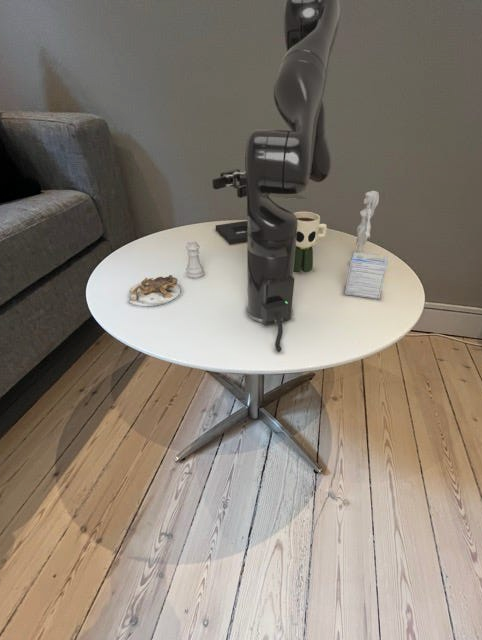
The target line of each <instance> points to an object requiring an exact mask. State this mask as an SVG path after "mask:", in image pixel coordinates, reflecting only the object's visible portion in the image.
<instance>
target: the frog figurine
mask: <svg viewBox="0 0 482 640" xmlns="http://www.w3.org/2000/svg"><path fill="white" fill-rule="evenodd" d="M178 282H179V281H178V278H177V277H174V276H173V275H172V274H169V275H168V276H165V277H163V276H158V277H156V278H153V277H151V278H147V277H145V278H144V279H143V280H142V281H141V282H140V283H139V284H137V285H135V286H133V287H131V288H130V290H129V293H130V296H129V301H128V302H129V304H132V305H134V306H138V307H154V306H162V305H166V304H168V303H170V302H172V301H173V300H175V299H176V298H178V296H180V295H181V294H180V293H181V291H182V290H180V287H179V285H178Z"/></svg>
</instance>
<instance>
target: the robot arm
mask: <svg viewBox="0 0 482 640" xmlns="http://www.w3.org/2000/svg"><path fill="white" fill-rule="evenodd" d="M284 2H285V3H284V9H283V34H284V42H285V48H286V53H285V54H284V55H283V57H282V59H281V60H280V64H279V66H278V69H277V74H276V77H275V81H274V84H273V85H274V86H273V100H274V104H275V107H276V110H277V112H278V114H279V115H280V117H281V118H282V120H283V122H284V123H285V124H286V126H288V128H289V129H290V130H285V129H268V128H267V129H265V128H257V129H254V130H252V131H251V132H250V133H249V135H248V137H247V140H246V145H245V152H244V153H245V155H244V162H245V163H244V167H245V168H244V171H241V170H240V169H238V168H237V169H233V170H232V169H231V170H227V171H224V172H220V175H219V177H216V178H213V179H212V189H213V190H220V189H223V188H228V187H233V189H236V197H237V198H240V199H242V198H246V221H247V231H246V232H247V242H246V243H247V246H246V252H247V254H246V266H247V267H246V301H247V302H246V303H247V304H246V314H247V316H248V317H249V318H250V319H251V320H253V321H254V322H256V323H257V322H258V323H261V324H263V326H270V325H274V324H277V335H276V338H275V343H274V344H275V345H274V347H275V349H276V351H277V352H278V353H279V352H281V351H282V347H281V340H282V337H283V331H284V329H283V327H284V326H283V322H286V321H290V320H292V312H293V301H294V291H295V290H294V288H295V277H294V259H295V248H296V237H297V227H298V221H297V218H296V216H295V215H294V214H293V213H294V212H291V211H290V210H288V209H286V208H285V207H282V206H281V205H279V204H278V203H276V202H274V200H273V199H272V198H270V196H269V195H271V194H272V195H282V196H283V195H284V196H297V195H300V194H302V193H303V192H305V190H306V188H307V187H308V184H309V181H310V180H311V181H312V182H315V183H322V182H324V181H325V180H327V178H328V177H329V175H330V173H331V169H332V156H331V152H330V151H331V150H330V148H329V147H330V146H329V143H328V139H327V136H326V106H325V102H324V100H323V97H324V96H325V95H324V94H325V89H326V83H327V77H328V69H329V63H330V62H329V61H330V58H331V55H332V51H333V48H334V45H335V43H336V38H337V35H338V30H339V26H340V16H341V14H340V12H341V6H340V0H285V1H284ZM237 183H238V184H237Z"/></svg>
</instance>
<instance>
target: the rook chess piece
mask: <svg viewBox="0 0 482 640" xmlns="http://www.w3.org/2000/svg"><path fill="white" fill-rule="evenodd" d="M185 249H186V250H187V256H188V261H187V262H188V263H187V267H186V268H185V271H186V272H185V274H186V276H187V277H188V278H190V279H199V278H202V277H203V276H204V275H205V272H204V266H202V264H201V261H200V258H199V257H200V252H199V249H200V245H199V244H198V241H196V240H195V241H193V240H191V241H187V242H186V246H185Z"/></svg>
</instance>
